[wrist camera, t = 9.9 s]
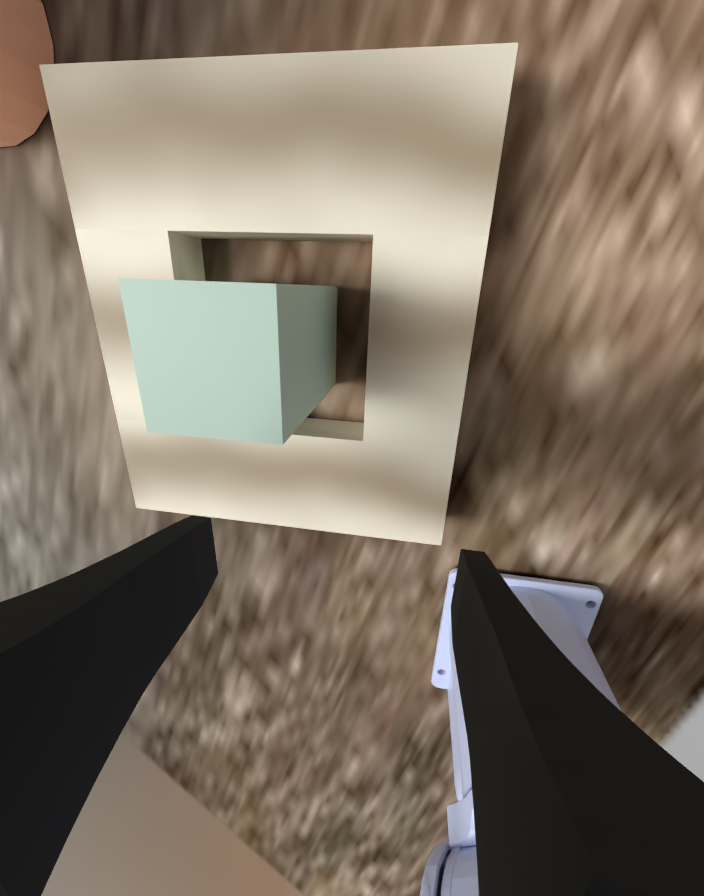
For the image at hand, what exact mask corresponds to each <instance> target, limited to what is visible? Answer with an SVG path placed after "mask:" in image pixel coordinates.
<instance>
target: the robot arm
mask: <svg viewBox="0 0 704 896" xmlns="http://www.w3.org/2000/svg"><path fill="white" fill-rule="evenodd" d="M217 574H218V569H217V561H216V554H215V546H214V538H213V531H212V523H211V518H207V517H199V516H190V517H187V518H185V519H183V520H181V521H179V522H177V523H174V524H172V525H170V526H169V527H167V528H165V529H163V530H161V531H159V532H157V533H155V534H153V535H151V536H149V537H147V538H145V539H143V540H141V541H139V542H137V543H136V544H134V545H132V546H130V547H128V548H126V549H124V550H122V551H120V552H118V553H116V554H114V555H112V556H110V557H107V558H105V559H103V560H101V561H99V562H97V563H95V564H93V565H91V566H89V567H86V568H84V569H82V570H80V571H78V572H76V573H74V574H71V575H69V576H67V577H64V578H62V579H60V580H57V581H55V582H53V583H50V584H48V585H45V586H43V587H40V588H38V589H35V590H33V591H30V592H28V593H25V594H22V595H20V596H17V597H14V598H11V599H8V600H5V601H2V602H0V896H41V894H42V892H43V890H44V888H45V886H46V883H47V881H48V879H49V877H50V875H51V872H52V870H53V868H54V866H55V864H56V862H57V859H58V857H59V855H60V853H61V851H62V849H63V847H64V844H65V842H66V840H67V838H68V836H69V834H70V832H71V830H72V827H73V826H74V824H75V821H76V819H77V817H78V815H79V813H80V811H81V809H82V807H83V805H84V803H85V801H86V799H87V797H88V795H89V793H90V791H91V789H92V787H93V785H94V783H95V781H96V779H97V777H98V775H99V773H100V771H101V770H102V768H103V766H104V763H105V762H106V760H107V758H108V756H109V754H110V752H111V751H112V749H113V747H114V745H115V743H116V741H117V739H118V737H119V735H120V734H121V732H122V730H123V728H124V726H125V725H126V723H127V721H128V719H129V717H130V716H131V714H132V712H133V710H134V708H135V707H136V705H137V703H138V701H139V700H140V698H141V696H142V694H143V693H144V691H145V690H146V688H147V686H148V685H149V683H150V682H151V680H152V678H153V677H154V675H155V674H156V672H157V671H158V669H159V668H160V667H161V665H162V664H163V662H164V661H165V659H166V658H167V656H168V655H169V653H170V652H171V650H172V649H173V647H174V646H175V645H176V643H177V642H178V640H179V639H180V637H181V636H182V634H183V633H184V631H185V630H186V628H187V627H188V625H189V624H190V622H191V621H192V619H193V618H194V616H195V615H196V613H197V612H198V610H199V609H200V607H201V606H202V604H203V602H204V600H205V598H206V597H207V595H208V593H209V591H210V589H211V587H212V585H213V583H214V581H215V579H216V576H217ZM454 583H455V585H454ZM602 600H603V593H602V592H601V590H600V588H598V587H597V586H593V585H586V584H578V583H570V582H563V581H555V580H547V579H540V578H532V577H524V576H517V575H509V574H501V573H499V572H498V570H497V569H496V567H495V566H494V564H493V563H492V562H491V560H490V559H489V557H488V556H487V555H486V553H485V552H481V551H473V550H465V549H461V552H460V557H459V563H458V568H455V569H452V570H451V571H450V573H449V576H448V582H447V588H446V594H445V600H444V606H443V612H442V618H441V624H440V629H439V635H438V641H437V647H436V653H435V659H434V665H433V671H432V684H433V685H434V686H435V687H438V688H443V689H448V700H449V713H450V726H451V740H452V753H453V766H454V779H455V788H456V794H457V799H458V802H457V803H454V804H450V805H448V806H447V814H448V830H449V840H448V841H444V842H441V843H440V844H439V845H437V846H436V847H435V848H434V850H433V851H432V853H431V855H430V856H429V859H428V862H427V865H426V867H425V871H424V876H423V880H422V885H421V892H420V896H704V782H703V781H702V780H700V779H699V778H698V777H697V776H695V775H694V774H693V773H692V772H691V771H689V770H688V769H687V768H686V767H684V766H683V765H682V764H681V763H679V762H678V761H677V760H676V759H675V758H674V757H672V756H671V755H670V754H669V753H668V752H667V751H665V750H664V749H663V748H662V747H661V746H659V745H658V744H657V743H656V742H655V741H654V740H652V739H651V738H650V737H649V736H648V735H647V734H646V733H645V732H643V731H642V730H641V729H640V728H639V727H638V726H637V725H636V724H635V723H634V722H632V721H631V720H630V719H629V718H628V717H627V716H626V715H625V714H624V713H622V711H621V709H620V707H619V705H618V703H617V701H616V699H615V697H614V695H613V693H612V691H611V689H610V687H609V684H608V682H607V680H606V678H605V676H604V674H603V672H602V670H601V668H600V666H599V664H598V662H597V660H596V658H595V656H594V654H593V652H592V649H591V647H590V645H589V643H588V641H587V639H588V636H589V634H590V631H591V629H592V626H593V623H594V621H595V618H596V615H597V613H598V610H599V608H600V605H601V602H602ZM588 601H592V602H590V603H587V602H588Z"/></svg>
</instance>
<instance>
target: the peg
mask: <svg viewBox="0 0 704 896" xmlns="http://www.w3.org/2000/svg"><path fill="white" fill-rule="evenodd" d="M118 281H119V287H120V292H121V297H122V302H123V308H124V313H125V318H126V323H127V329H128V334H129V339H130V344H131V350H132V355H133V360H134V365H135V371H136V376H137V381H138V386H139V392H140V397H141V402H142V407H143V413H144V418H145V423H146V428H147V432H149V433H160V434H171V435H181V436H192V437H203V438H213V439H224V440H235V441H245V442H256V443H267V444H277V445H283V444H284V443H285V442H286V441H287V440H288V438H289V437H290V436H291V435H292V434H293V433H294V432H295V430H296V429H297V428H298V427H299V426H300V425H301V423H302V422H303V421H304V420H305V419H306V418H307V417H308V415H309V414H310V413H311V412H312V411H313V410H314V408H315V407H316V406H317V405H318V404H319V403H320V402H321V400H322V399H323V398H324V397H325V396H326V395H327V393H328V392H329V391H330V390H331V389H332V388H333V387H334V385H335V384H336V336H337V286H318V285H295V284H271V283H243V282H215V281H187V280H158V279H130V278H118Z"/></svg>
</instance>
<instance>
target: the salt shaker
mask: <svg viewBox="0 0 704 896" xmlns="http://www.w3.org/2000/svg"><path fill="white" fill-rule="evenodd" d="M42 64H54V54H53V42H52V38H51V34H50V30H49V26H48V22H47V18H46V14H45V10H44V6H43V3H42V1H41V0H0V147H8V146H16V145H18V144H19V143H21V142H22V141H24V140H25V139H27V138H28V137H30V136H31V135H33V134H34V133H35V132H36V130H37V128H38V127H39V125H40V124H41V122H42V120H43V119H44V117H45V115H46V114H47V112H48V108H49V107H48V103H47V98H46V94H45V89H44V84H43V80H42V75H41V71H40V66H39V65H42Z"/></svg>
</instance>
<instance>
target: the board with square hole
mask: <svg viewBox="0 0 704 896" xmlns="http://www.w3.org/2000/svg"><path fill="white" fill-rule="evenodd" d="M517 49H518V43H500V44H478V45H456V46H435V47H413V48H391V49H369V50H348V51H326V52H304V53H282V54H260V55H239V56H217V57H195V58H173V59H151V60H130V61H108V62H86V63H64V64H42V65H39V66H40V71H41V75H42V80H43V84H44V89H45V94H46V98H47V103H48V107H49V112H50V116H51V121H52V126H53V130H54V135H55V139H56V144H57V148H58V153H59V157H60V162H61V167H62V171H63V176H64V180H65V185H66V189H67V194H68V198H69V203H70V208H71V212H72V217H73V221H74V226H75V230H76V235H77V240H78V244H79V249H80V253H81V258H82V262H83V267H84V271H85V276H86V281H87V285H88V290H89V294H90V299H91V303H92V308H93V312H94V317H95V322H96V326H97V331H98V335H99V340H100V344H101V349H102V354H103V358H104V363H105V367H106V372H107V376H108V381H109V385H110V390H111V395H112V399H113V404H114V408H115V413H116V417H117V422H118V426H119V431H120V436H121V440H122V445H123V449H124V454H125V458H126V463H127V468H128V472H129V477H130V481H131V486H132V490H133V495H134V499H135V504H136V508H143V509H151V510H159V511H167V512H175V513H183V514H191V515H199V516H207V517H215V518H223V519H231V520H240V521H248V522H256V523H264V524H272V525H280V526H288V527H296V528H304V529H312V530H320V531H329V532H337V533H345V534H353V535H361V536H369V537H377V538H385V539H393V540H401V541H409V542H417V543H426V544H434V545H441V543H442V536H443V530H444V523H445V517H446V510H447V504H448V497H449V491H450V484H451V478H452V471H453V465H454V458H455V452H456V445H457V439H458V432H459V426H460V419H461V413H462V406H463V400H464V393H465V387H466V380H467V374H468V367H469V361H470V354H471V348H472V341H473V335H474V328H475V322H476V315H477V309H478V302H479V296H480V289H481V283H482V276H483V270H484V263H485V257H486V250H487V244H488V237H489V231H490V224H491V218H492V211H493V205H494V198H495V192H496V185H497V179H498V172H499V166H500V159H501V153H502V146H503V140H504V133H505V127H506V120H507V114H508V107H509V101H510V94H511V88H512V81H513V75H514V68H515V62H516V55H517ZM201 239H241V240H288V241H335V242H373V251H372V271H371V291H370V311H369V332H368V352H367V372H366V393H365V413H364V422H352V421H340V420H328V419H316V418H306V419H305V420H304V421H303V422H302V423H301V425H300V426H299V427H298V428H297V429H296V430H295V432H294V433H293V434H292V435H291V436H290V437H289V438H288V440H287V441H286V442H285V443H284V444H283V445H277V444H267V443H256V442H245V441H235V440H224V439H213V438H203V437H192V436H181V435H171V434H160V433H149V432H147V428H146V423H145V418H144V413H143V407H142V402H141V397H140V392H139V386H138V381H137V376H136V371H135V365H134V360H133V355H132V350H131V344H130V339H129V334H128V329H127V323H126V318H125V313H124V308H123V302H122V297H121V292H120V287H119V281H118V278H130V279H158V280H187V281H206V280H205V271H204V261H203V252H202V243H201Z"/></svg>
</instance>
